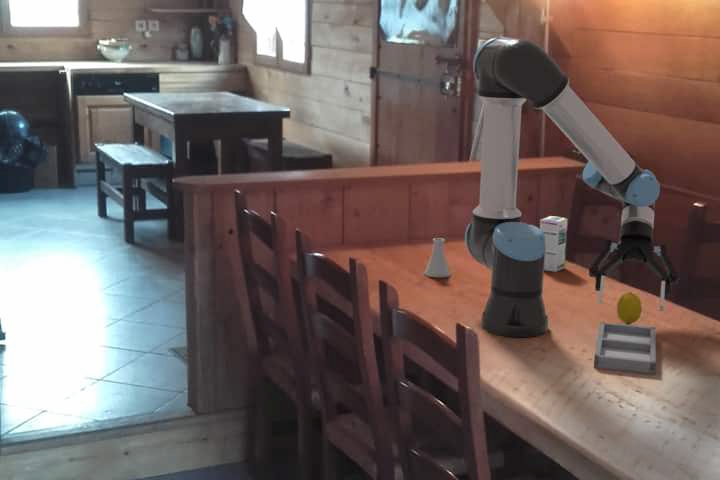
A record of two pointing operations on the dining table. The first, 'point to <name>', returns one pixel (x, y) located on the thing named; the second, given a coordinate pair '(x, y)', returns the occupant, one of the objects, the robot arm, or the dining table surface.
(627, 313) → the lemon
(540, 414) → the dining table surface
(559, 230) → the syrup box
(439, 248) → the flask
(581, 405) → the dining table surface
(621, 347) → the grey divided tray
